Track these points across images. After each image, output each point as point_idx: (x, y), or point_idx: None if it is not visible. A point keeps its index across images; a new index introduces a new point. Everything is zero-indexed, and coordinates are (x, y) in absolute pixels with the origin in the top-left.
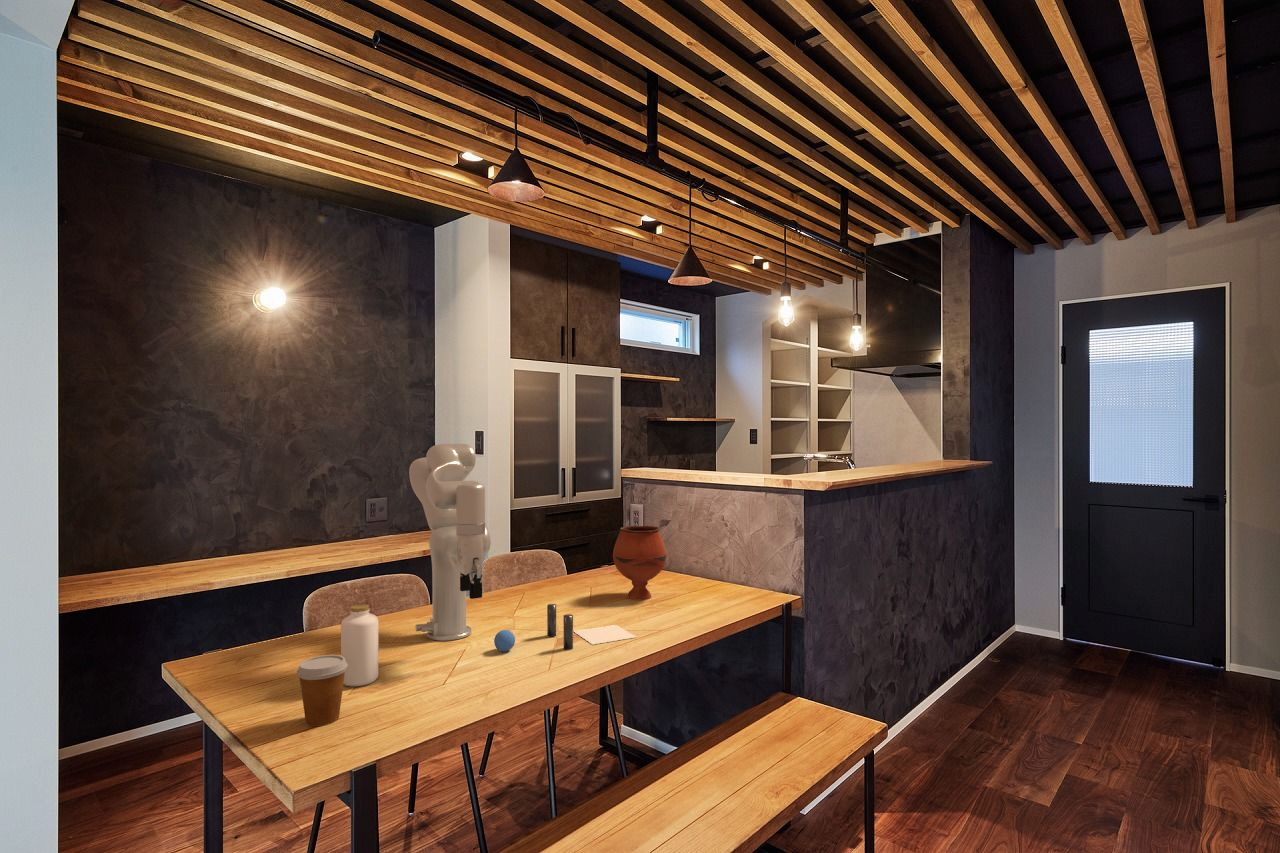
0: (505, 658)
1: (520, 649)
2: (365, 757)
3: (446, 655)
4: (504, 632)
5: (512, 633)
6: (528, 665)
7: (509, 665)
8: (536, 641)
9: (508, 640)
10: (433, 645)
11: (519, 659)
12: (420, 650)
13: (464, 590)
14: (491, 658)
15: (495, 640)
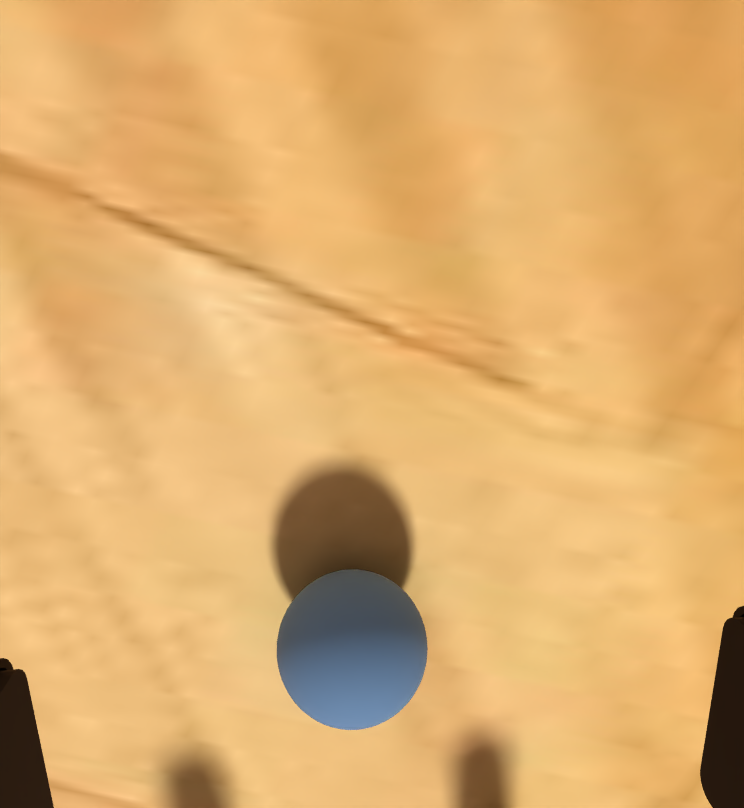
0: (202, 576)
1: None
2: None
3: (454, 236)
4: (322, 687)
5: (334, 727)
6: (13, 663)
7: (56, 568)
8: (432, 792)
9: (279, 669)
10: (734, 193)
11: (147, 643)
12: (678, 70)
13: (718, 669)
14: (242, 500)
15: (337, 593)
